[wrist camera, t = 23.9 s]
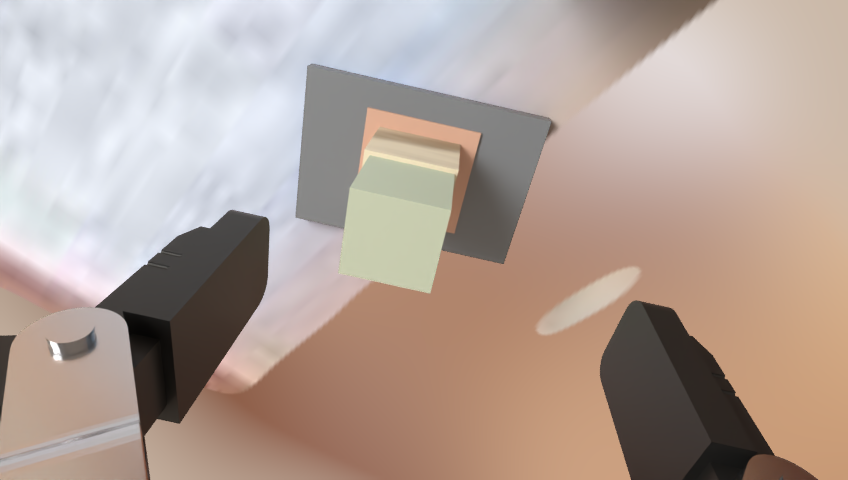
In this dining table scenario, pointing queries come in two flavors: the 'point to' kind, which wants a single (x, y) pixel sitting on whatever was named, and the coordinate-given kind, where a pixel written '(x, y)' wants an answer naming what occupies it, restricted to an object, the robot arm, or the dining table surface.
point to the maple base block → (414, 150)
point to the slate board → (430, 117)
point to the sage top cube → (396, 223)
